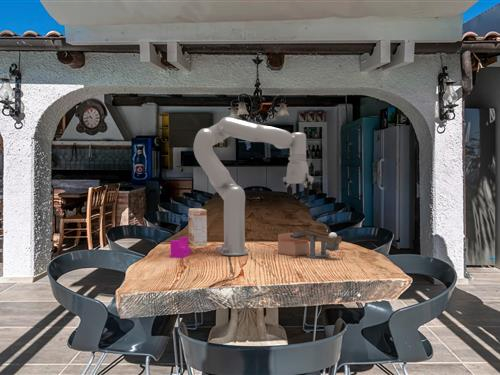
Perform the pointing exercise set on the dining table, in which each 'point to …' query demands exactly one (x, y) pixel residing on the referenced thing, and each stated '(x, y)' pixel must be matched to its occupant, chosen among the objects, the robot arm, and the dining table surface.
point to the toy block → (180, 248)
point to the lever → (319, 238)
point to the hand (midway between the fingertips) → (297, 196)
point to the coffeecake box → (197, 226)
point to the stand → (312, 250)
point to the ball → (332, 235)
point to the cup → (292, 245)
